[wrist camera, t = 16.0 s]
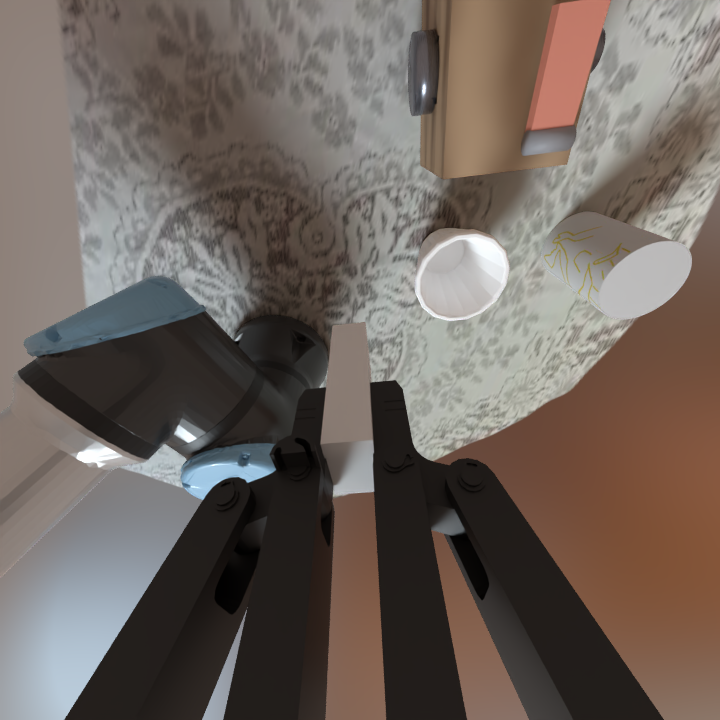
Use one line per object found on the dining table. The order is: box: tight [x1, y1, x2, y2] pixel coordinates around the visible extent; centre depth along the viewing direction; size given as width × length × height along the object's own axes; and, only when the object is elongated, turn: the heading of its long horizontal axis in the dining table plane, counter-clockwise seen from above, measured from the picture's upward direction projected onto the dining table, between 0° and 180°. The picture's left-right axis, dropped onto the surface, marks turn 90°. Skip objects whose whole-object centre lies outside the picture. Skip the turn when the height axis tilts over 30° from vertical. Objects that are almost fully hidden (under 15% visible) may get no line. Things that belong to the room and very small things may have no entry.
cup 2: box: [541, 211, 692, 319], centre depth 35 cm, size 8×8×12 cm
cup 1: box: [415, 228, 510, 321], centre depth 37 cm, size 10×10×9 cm
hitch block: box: [420, 0, 597, 179], centre depth 26 cm, size 10×14×11 cm
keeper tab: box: [521, 0, 611, 156], centre depth 21 cm, size 3×8×2 cm, turn 6°
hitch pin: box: [408, 28, 605, 116], centre depth 26 cm, size 15×5×5 cm, turn 96°
